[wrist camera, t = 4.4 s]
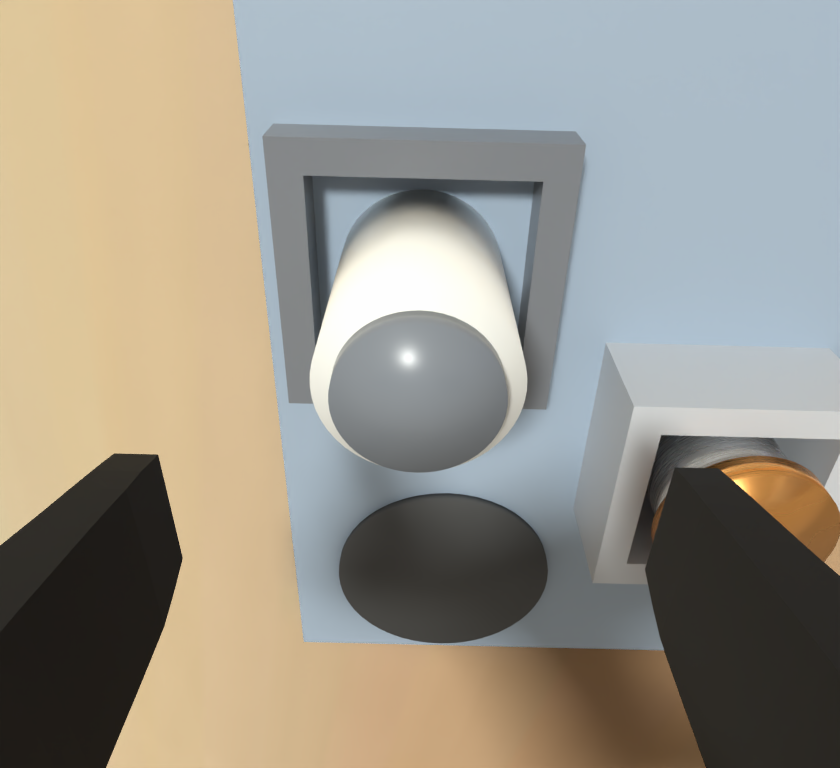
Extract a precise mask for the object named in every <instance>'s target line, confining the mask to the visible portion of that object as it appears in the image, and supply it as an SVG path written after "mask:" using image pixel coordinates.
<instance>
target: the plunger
mask: <svg viewBox="0 0 840 768" xmlns="http://www.w3.org/2000/svg"><path fill="white" fill-rule="evenodd" d="M675 467H680V468H719V469H720V470H721V471H722V472H723V473H725V474H726V475H727V476H728V477H729V478H731V479H732V480H733V481H734V482H735V483H736V484H737V485H739V486H740V487H741V488H742V489H743V490H744V491H745V492H746V493H747V494H749V495H750V496H751V497H752V498H753V499H754V500H755V501H756V502H757V503H759V504H760V505H761V506H762V507H763V508H764V509H765V510H766V511H767V512H768V513H770V514H771V515H772V516H773V517H774V518H775V519H776V520H777V521H778V522H779V523H781V524H782V525H783V526H784V527H785V528H786V529H787V530H788V531H789V532H791V533H792V534H793V535H794V536H795V537H796V538H797V539H798V540H799V541H801V542H802V543H803V544H804V545H805V546H806V547H807V548H808V549H809V550H811V551H812V552H813V553H814V554H815V555H816V556H817V557H818V558H820V559H821V560H822V561H823V562H824V561H825V560H826V559H827V558H828V556H829V555H830V554H831V552H832V551H833V549H834V547H835V546H836V543H837V541H838V539H839V536H840V512H839V509H838V507H837V504H836V503H835V502H834V500H833V499H832V497H831V496H830V494H829V493H828V492H827V490H826V489H825V488H824V486H823V485H822V483H821V482H820V481H819V479H818V478H817V477H816V476H815V475H814V474H813V473H812V472H811V471H810V470H808V469H807V468H805V467H804V466H802V465H800V464H798V463H796V462H793V461H790V460H788V458H787V457H786V456H785V454H784V453H783V451H782V450H781V448H780V447H779V445H778V444H777V443H776V441H775V440H774V438H762V437H721V436H681V435H661V438H660V441H659V445H658V449H657V453H656V456H655V460H654V464H653V467H652V471H651V475H650V479H649V482H648V486H647V490H646V495H647V498H648V500H649V503H650V505H651V508H652V510H653V513H654V518H653V521H652V526H651V538H652V543H653V540H654V536H655V533H656V530H657V526H658V523H659V519H660V516H661V513H662V509H663V506H664V502H665V499H666V495H667V492H668V489H669V485H670V482H671V478H672V475H673V471H674V468H675Z"/></svg>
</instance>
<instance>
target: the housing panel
mask: <svg viewBox="0 0 840 768" xmlns="http://www.w3.org/2000/svg"><path fill="white" fill-rule="evenodd" d="M233 5H234V14H235V24H236V33H237V42H238V51H239V60H240V69H241V78H242V87H243V96H244V105H245V114H246V123H247V132H248V141H249V150H250V159H251V168H252V177H253V186H254V195H255V204H256V213H257V222H258V231H259V240H260V250H261V259H262V268H263V277H264V286H265V295H266V304H267V313H268V322H269V331H270V340H271V349H272V358H273V367H274V376H275V385H276V394H277V403H278V412H279V421H280V430H281V439H282V448H283V457H284V466H285V476H286V485H287V494H288V503H289V512H290V521H291V530H292V539H293V548H294V557H295V566H296V575H297V584H298V593H299V602H300V611H301V620H302V629H303V638H304V642H335V643H377V644H420V645H462V646H504V647H546V648H589V649H631V650H664V648H663V645H662V642H661V639H660V636H659V632H658V627H657V623H656V619H655V615H654V610H653V606H652V601H651V597H650V592H649V587H648V582H647V577H646V572H645V567H646V564H647V560H648V557H649V554H650V550H651V547H652V538H651V526H652V521H653V518H654V513H653V510H652V508H651V505H650V503H649V500H648V498H647V495H646V490H647V486H648V482H649V479H650V475H651V471H652V467H653V464H654V460H655V456H656V453H657V449H658V445H659V441H660V438H661V435H681V436H721V437H762V438H774V440H775V441H776V443H777V444H778V445H779V447H780V448H781V450H782V451H783V453H784V454H785V456H786V457H787V458H788V460H790V461H793V462H796V463H798V464H800V465H802V466H804V467H805V468H807V469H808V470H810V471H811V472H812V473H813V474H814V475H815V476H816V477H817V478H818V479H819V481H820V482H821V483H822V485H823V486H824V488H825V489H826V490H827V492H828V493H829V494H830V496H831V497H832V499H833V500H834V502H835V503H836V504H837V507H838V509H839V512H840V0H233ZM420 189H425V190H435V191H439V192H444V193H447V194H450V195H452V196H455V197H457V198H459V199H461V200H463V201H465V202H466V203H467V204H469V205H470V206H472V207H473V208H474V209H475V210H476V211H477V212H478V213H480V214H481V215H482V217H483V218H484V219H485V220H486V222H487V223H488V224H489V226H490V228H491V229H492V231H493V233H494V235H495V238H496V240H497V243H498V247H499V251H500V255H501V260H502V264H503V268H504V273H505V277H506V281H507V286H508V290H509V294H510V299H511V303H512V307H513V312H514V316H515V321H516V325H517V329H518V334H519V338H520V342H521V347H522V351H523V355H524V360H525V364H526V370H527V393H526V397H525V402H524V405H523V408H522V410H521V413H520V415H519V417H518V419H517V421H516V422H515V424H514V426H513V427H512V428H511V430H510V431H509V432H508V434H507V435H506V436H505V437H504V438H503V439H502V440H501V441H500V442H499V443H498V444H497V445H495V446H494V447H493V448H492V449H490V450H489V451H487V452H486V453H484V454H483V455H481V456H479V457H478V458H476V459H473V460H471V461H469V462H467V463H464V464H461V465H459V466H456V467H452V468H449V469H445V470H440V471H435V472H425V473H413V472H403V471H397V470H393V469H389V468H386V467H383V466H380V465H377V464H374V463H372V462H369V461H367V460H365V459H363V458H361V457H359V456H357V455H355V454H354V453H352V452H351V451H350V450H348V449H347V448H345V447H344V446H343V445H342V444H341V443H339V442H338V441H337V440H336V439H335V438H334V437H333V436H332V435H331V433H330V432H329V431H328V430H327V429H326V427H325V426H324V424H323V423H322V421H321V420H320V418H319V416H318V414H317V412H316V410H315V407H314V404H313V400H312V397H311V391H310V369H311V362H312V358H313V355H314V351H315V348H316V344H317V340H318V337H319V333H320V330H321V326H322V322H323V319H324V315H325V312H326V308H327V304H328V301H329V297H330V294H331V290H332V287H333V283H334V279H335V276H336V272H337V269H338V265H339V261H340V258H341V254H342V251H343V247H344V244H345V241H346V238H347V235H348V233H349V231H350V229H351V228H352V226H353V225H354V223H355V222H356V220H357V219H358V218H359V217H360V216H361V214H362V213H363V212H364V211H365V210H367V209H368V208H369V207H370V206H371V205H373V204H374V203H376V202H378V201H379V200H381V199H383V198H385V197H387V196H389V195H392V194H395V193H398V192H402V191H408V190H420ZM435 493H452V494H463V495H469V496H475V497H479V498H482V499H486V500H489V501H492V502H494V503H497V504H499V505H502V506H504V507H505V508H507V509H509V510H511V511H513V512H514V513H516V514H517V515H518V516H520V517H521V518H522V519H524V520H525V521H526V522H527V523H528V524H529V525H530V526H531V527H532V528H533V530H534V531H535V532H536V534H537V535H538V537H539V539H540V540H541V542H542V544H543V547H544V551H545V554H546V559H547V566H548V576H547V582H546V586H545V589H544V592H543V594H542V596H541V598H540V599H539V601H538V602H537V604H536V605H535V606H534V608H533V609H532V610H531V611H530V612H529V613H528V614H527V615H526V616H524V617H523V618H522V619H521V620H520V621H518V622H517V623H515V624H513V625H512V626H510V627H508V628H506V629H504V630H502V631H500V632H498V633H496V634H493V635H490V636H488V637H484V638H480V639H477V640H472V641H466V642H459V643H426V642H419V641H413V640H409V639H405V638H401V637H398V636H395V635H392V634H390V633H388V632H385V631H383V630H381V629H379V628H377V627H376V626H374V625H372V624H371V623H369V622H368V621H367V620H365V619H364V618H363V617H361V616H360V615H359V614H358V613H357V612H356V611H355V610H354V609H353V607H352V606H351V605H350V603H349V602H348V601H347V599H346V597H345V595H344V593H343V591H342V588H341V585H340V579H339V563H340V557H341V553H342V549H343V547H344V544H345V542H346V540H347V538H348V537H349V535H350V534H351V532H352V531H353V530H354V529H355V527H356V526H357V525H358V524H359V523H360V522H361V521H363V520H364V519H365V518H366V517H367V516H369V515H370V514H372V513H373V512H375V511H376V510H378V509H380V508H382V507H384V506H386V505H388V504H390V503H393V502H396V501H399V500H402V499H405V498H409V497H413V496H418V495H425V494H435Z"/></svg>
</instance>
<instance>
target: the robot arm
mask: <svg viewBox="0 0 840 768" xmlns="http://www.w3.org/2000/svg"><path fill="white" fill-rule="evenodd" d="M182 559H183V558H182V554H181V549H180V545H179V541H178V537H177V533H176V528H175V524H174V520H173V516H172V512H171V507H170V503H169V499H168V495H167V491H166V486H165V482H164V478H163V474H162V470H161V465H160V461H159V457H158V455H149V454H113V455H112V456H111V457H109V458H108V459H107V460H105V461H104V462H103V463H101V464H100V465H99V466H98V467H96V468H95V469H94V470H93V471H91V472H90V473H89V474H88V475H86V476H85V477H84V478H83V479H81V480H80V481H79V482H78V483H77V484H75V485H74V486H73V487H72V488H71V489H69V490H68V491H67V492H66V493H64V494H63V495H62V496H61V497H60V498H58V499H57V500H56V501H55V502H54V503H52V504H51V505H50V506H49V507H47V508H46V509H45V510H44V511H43V512H41V513H40V514H39V515H38V516H36V517H35V518H34V519H33V520H31V521H30V522H29V523H28V524H26V525H25V526H24V527H23V528H21V529H20V530H19V531H18V532H17V533H15V534H14V535H13V536H12V537H10V538H9V539H8V540H7V541H5V542H4V543H3V544H2V545H0V768H106V766H107V764H108V761H109V759H110V757H111V754H112V752H113V749H114V747H115V745H116V742H117V740H118V737H119V735H120V733H121V730H122V728H123V725H124V723H125V721H126V718H127V716H128V713H129V711H130V709H131V706H132V704H133V701H134V699H135V697H136V694H137V692H138V689H139V687H140V685H141V682H142V680H143V677H144V675H145V672H146V670H147V667H148V665H149V663H150V660H151V658H152V655H153V653H154V650H155V648H156V645H157V643H158V640H159V638H160V635H161V633H162V630H163V628H164V625H165V622H166V618H167V615H168V611H169V608H170V604H171V601H172V597H173V594H174V590H175V586H176V582H177V578H178V574H179V570H180V567H181V563H182ZM645 572H646V577H647V582H648V587H649V592H650V597H651V601H652V606H653V610H654V615H655V619H656V623H657V627H658V632H659V636H660V639H661V642H662V645H663V648H664V651H665V654H666V657H667V660H668V663H669V665H670V668H671V671H672V674H673V677H674V680H675V683H676V685H677V688H678V691H679V694H680V697H681V699H682V702H683V705H684V708H685V711H686V713H687V716H688V719H689V722H690V724H691V727H692V730H693V733H694V735H695V738H696V741H697V744H698V747H699V749H700V752H701V755H702V758H703V760H704V763H705V766H706V768H840V576H839V575H838V574H837V573H836V572H834V571H833V570H832V569H831V568H830V567H829V566H828V565H826V564H825V563H824V562H823V561H822V560H821V559H820V558H818V557H817V556H816V555H815V554H814V553H813V552H812V551H811V550H809V549H808V548H807V547H806V546H805V545H804V544H803V543H802V542H801V541H799V540H798V539H797V538H796V537H795V536H794V535H793V534H792V533H791V532H789V531H788V530H787V529H786V528H785V527H784V526H783V525H782V524H781V523H779V522H778V521H777V520H776V519H775V518H774V517H773V516H772V515H771V514H770V513H768V512H767V511H766V510H765V509H764V508H763V507H762V506H761V505H760V504H759V503H757V502H756V501H755V500H754V499H753V498H752V497H751V496H750V495H749V494H747V493H746V492H745V491H744V490H743V489H742V488H741V487H740V486H739V485H737V484H736V483H735V482H734V481H733V480H732V479H731V478H729V477H728V476H727V475H726V474H725V473H723V472H722V471H721V470H720V469H719V468H680V467H675V468H674V471H673V475H672V478H671V482H670V485H669V489H668V492H667V495H666V499H665V502H664V506H663V509H662V513H661V516H660V519H659V523H658V526H657V530H656V533H655V536H654V540H653V543H652V547H651V550H650V554H649V557H648V560H647V564H646V567H645Z"/></svg>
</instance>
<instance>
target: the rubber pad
mask: <svg viewBox="0 0 840 768" xmlns="http://www.w3.org/2000/svg"><path fill="white" fill-rule="evenodd" d="M547 576H548V566H547V559H546V554H545V551H544V547H543V544H542V542H541V540H540V539H539V537H538V535H537V534H536V532H535V531H534V530H533V528H532V527H531V526H530V525H529V524H528V523H527V522H526V521H525V520H524V519H522V518H521V517H520V516H518V515H517V514H516V513H514V512H513V511H511V510H509V509H507V508H505V507H504V506H502V505H499V504H497V503H494V502H492V501H489V500H486V499H482V498H479V497H475V496H469V495H463V494H452V493H435V494H425V495H418V496H413V497H409V498H405V499H402V500H399V501H396V502H393V503H390V504H388V505H386V506H384V507H382V508H380V509H378V510H376V511H375V512H373V513H372V514H370V515H369V516H367V517H366V518H365V519H364V520H363V521H361V522H360V523H359V524H358V525H357V526H356V527H355V529H354V530H353V531H352V532H351V534H350V535H349V537H348V538H347V540H346V542H345V544H344V547H343V549H342V553H341V557H340V563H339V579H340V585H341V588H342V591H343V593H344V595H345V597H346V599H347V601H348V602H349V603H350V605H351V606H352V607H353V609H354V610H355V611H356V612H357V613H358V614H359V615H360V616H361V617H363V618H364V619H365V620H367V621H368V622H369V623H371V624H372V625H374V626H376V627H377V628H379V629H381V630H383V631H385V632H388V633H390V634H392V635H395V636H398V637H401V638H405V639H409V640H413V641H419V642H426V643H459V642H466V641H472V640H477V639H480V638H484V637H488V636H490V635H493V634H496V633H498V632H500V631H502V630H504V629H506V628H508V627H510V626H512V625H513V624H515V623H517V622H518V621H520V620H521V619H522V618H523V617H524V616H526V615H527V614H528V613H529V612H530V611H531V610H532V609H533V608H534V606H535V605H536V604H537V602H538V601H539V599H540V598H541V596H542V594H543V592H544V589H545V586H546V582H547Z"/></svg>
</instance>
